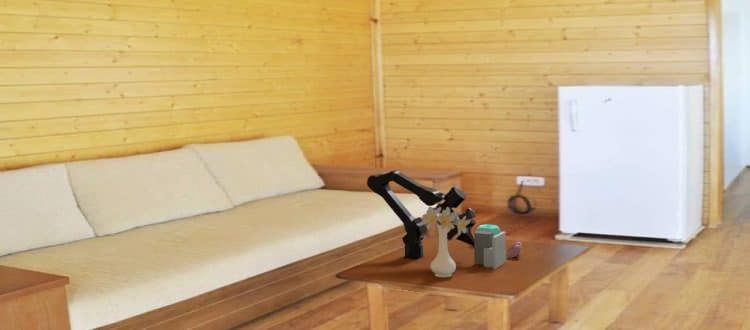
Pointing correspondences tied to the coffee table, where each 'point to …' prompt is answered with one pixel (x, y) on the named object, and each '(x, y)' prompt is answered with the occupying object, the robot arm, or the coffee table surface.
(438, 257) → the flower vase
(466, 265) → the coffee table surface
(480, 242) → the plug
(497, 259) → the arched bridge stand
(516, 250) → the video game controller
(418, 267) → the coffee table surface
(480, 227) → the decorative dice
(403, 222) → the robot arm
